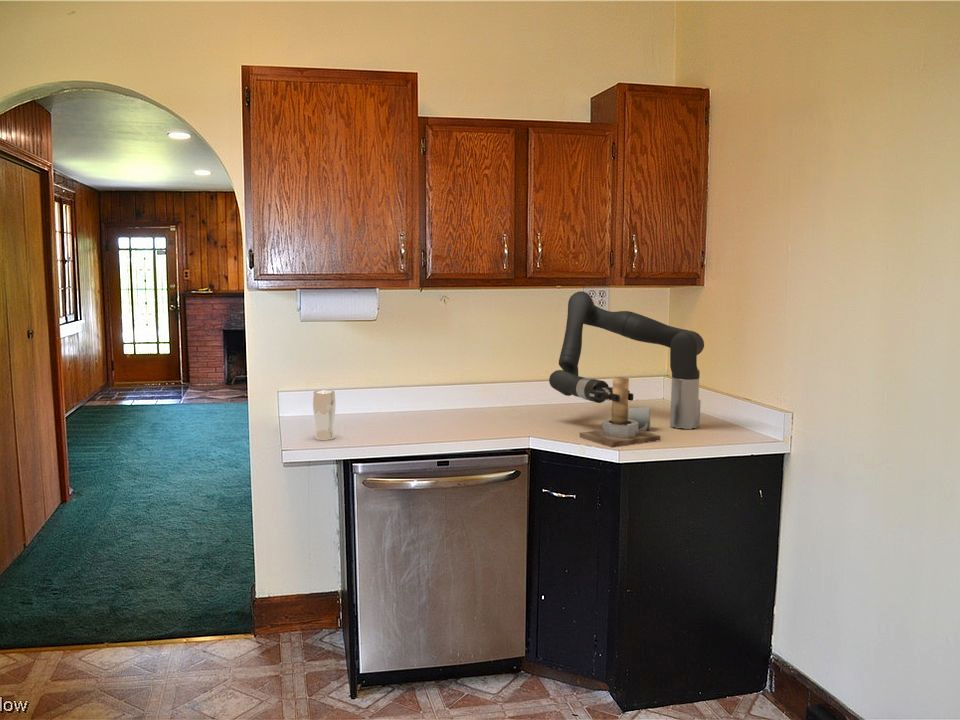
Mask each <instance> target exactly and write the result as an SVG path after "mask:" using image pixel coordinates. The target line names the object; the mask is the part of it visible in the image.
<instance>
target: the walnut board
mask: <svg viewBox="0 0 960 720" xmlns="http://www.w3.org/2000/svg"><path fill="white" fill-rule="evenodd" d="M579 438H581V439H584V440H587V441H590V442H594V443H597V444H600V445H603V446H606V447H609V448H615V447H616V446H617V447H623V445H624V446H629V444H631V445H636V444H635V443H638V444H644V443H643V442H645V443H649V442H648V441H652V442H657V441H656V440H660V441H661V435H660V434H659V435H658V434H655V433H652V432H648V431H646V430H645V431H641V430H638V436H636V437H632V438H614V437H608V436H604V435H603V434H602V429H599V430H593V431H591V430H590V431H584V432H579Z"/></svg>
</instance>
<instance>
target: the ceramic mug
mask: <svg viewBox="0 0 960 720" xmlns="http://www.w3.org/2000/svg"><path fill="white" fill-rule="evenodd" d="M627 419H629V420H634V421H637V422H638V423H639V424H638V430H641V431H645V432H646V431H650V430H651V408H650V407H649V406H646V407H630V408H629V407H628V414H627Z"/></svg>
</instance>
